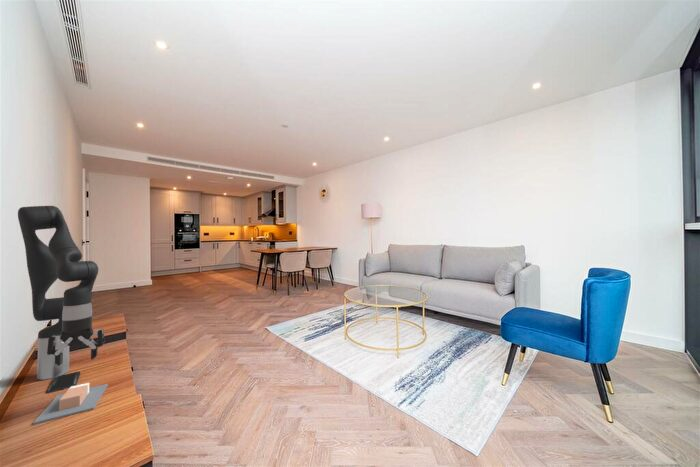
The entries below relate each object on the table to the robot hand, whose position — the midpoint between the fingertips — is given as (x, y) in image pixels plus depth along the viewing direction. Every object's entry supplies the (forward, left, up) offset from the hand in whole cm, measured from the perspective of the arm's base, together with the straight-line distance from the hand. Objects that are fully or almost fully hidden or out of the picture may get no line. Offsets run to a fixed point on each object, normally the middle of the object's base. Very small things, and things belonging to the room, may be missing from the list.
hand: (77, 361), depth 95 cm
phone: (-22, -9, -15) cm, 28 cm away
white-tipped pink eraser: (0, 0, -14) cm, 14 cm away
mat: (0, 0, -14) cm, 14 cm away
